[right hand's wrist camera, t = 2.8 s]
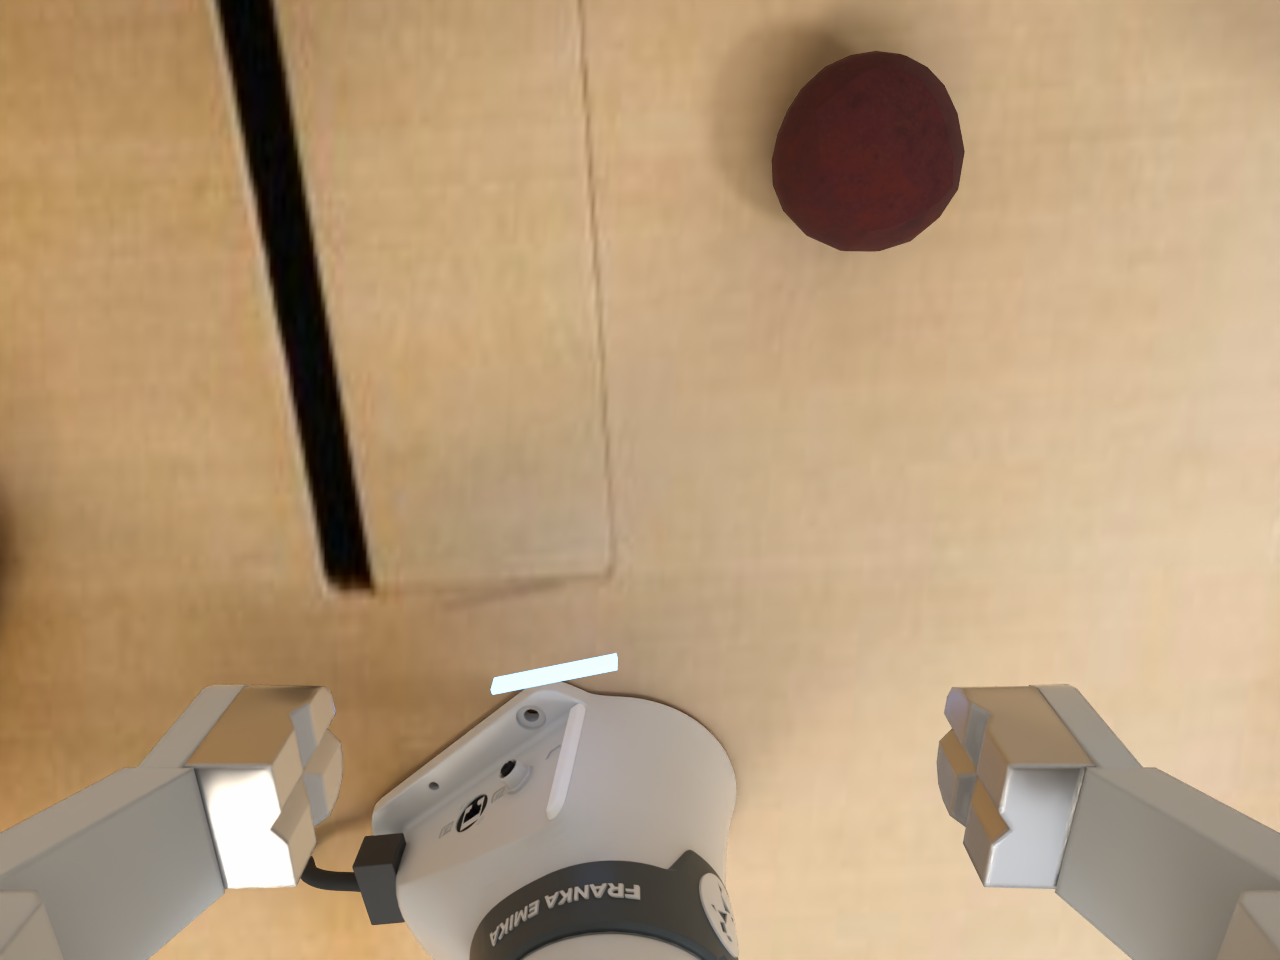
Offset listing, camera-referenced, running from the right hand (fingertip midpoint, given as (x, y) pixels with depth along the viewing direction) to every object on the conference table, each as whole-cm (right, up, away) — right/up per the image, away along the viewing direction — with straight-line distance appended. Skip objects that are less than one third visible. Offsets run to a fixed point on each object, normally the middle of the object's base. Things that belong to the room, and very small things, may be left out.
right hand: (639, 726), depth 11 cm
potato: (+9, +18, +26) cm, 32 cm away
